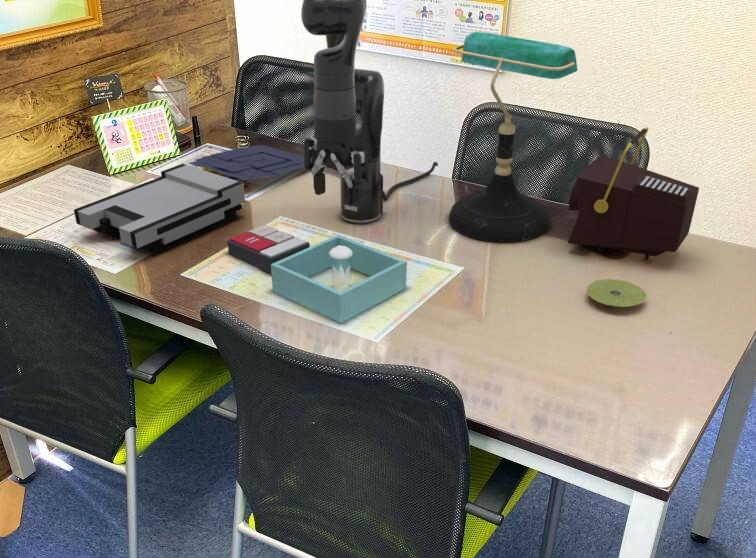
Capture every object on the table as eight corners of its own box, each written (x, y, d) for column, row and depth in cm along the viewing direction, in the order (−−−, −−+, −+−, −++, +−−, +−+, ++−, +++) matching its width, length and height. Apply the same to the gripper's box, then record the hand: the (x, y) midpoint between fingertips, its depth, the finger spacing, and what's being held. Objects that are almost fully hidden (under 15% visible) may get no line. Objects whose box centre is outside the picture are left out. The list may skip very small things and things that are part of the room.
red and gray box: (265, 222, 192) (310, 239, 183) (267, 240, 194) (311, 258, 185) (225, 237, 186) (270, 255, 176) (228, 256, 188) (272, 274, 179)
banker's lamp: (573, 221, 201) (600, 39, 178) (521, 254, 186) (543, 60, 163) (478, 193, 215) (491, 21, 192) (422, 222, 200) (430, 40, 177)
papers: (182, 172, 224) (182, 158, 223) (260, 154, 246) (260, 141, 244) (251, 193, 212) (251, 178, 211) (327, 172, 234) (328, 158, 232)
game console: (79, 238, 194) (72, 204, 189) (186, 195, 215) (182, 163, 210) (139, 264, 184) (133, 228, 179) (246, 216, 204) (243, 183, 199)
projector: (584, 225, 199) (601, 116, 184) (687, 247, 189) (714, 133, 174) (559, 252, 187) (575, 138, 173) (668, 277, 177) (694, 157, 163)
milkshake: (325, 285, 175) (324, 239, 169) (351, 284, 176) (351, 238, 170) (326, 295, 171) (325, 249, 166) (353, 294, 172) (353, 248, 166)
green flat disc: (648, 293, 171) (650, 285, 170) (639, 319, 163) (641, 310, 162) (591, 283, 175) (593, 274, 174) (579, 308, 167) (581, 299, 166)
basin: (338, 260, 184) (337, 234, 181) (406, 288, 174) (407, 261, 170) (272, 291, 173) (270, 264, 170) (341, 323, 162) (340, 295, 159)
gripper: (378, 115, 152) (377, 203, 161) (321, 100, 160) (323, 184, 169) (349, 125, 147) (349, 215, 157) (292, 108, 155) (295, 195, 165)
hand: (336, 199), depth 163 cm, fingers open, 8 cm apart
